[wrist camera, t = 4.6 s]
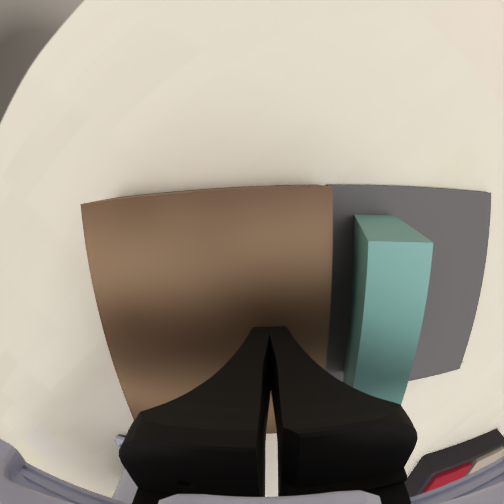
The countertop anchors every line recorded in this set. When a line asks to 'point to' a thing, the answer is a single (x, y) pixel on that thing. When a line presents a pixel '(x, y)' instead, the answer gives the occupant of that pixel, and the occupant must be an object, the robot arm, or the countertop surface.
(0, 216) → the countertop surface
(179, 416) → the robot arm
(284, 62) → the countertop surface
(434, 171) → the countertop surface
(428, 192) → the mat
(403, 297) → the block
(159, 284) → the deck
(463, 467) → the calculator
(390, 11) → the countertop surface
